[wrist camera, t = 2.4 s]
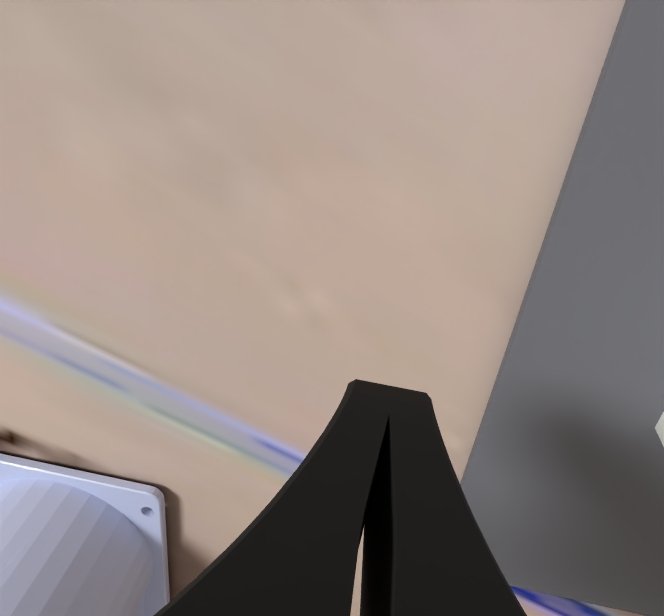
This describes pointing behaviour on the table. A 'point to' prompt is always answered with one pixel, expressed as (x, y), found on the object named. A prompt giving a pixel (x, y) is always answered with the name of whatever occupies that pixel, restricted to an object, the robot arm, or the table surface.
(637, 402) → the mat
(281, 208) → the table surface
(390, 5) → the table surface
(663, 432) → the tile
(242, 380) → the table surface
